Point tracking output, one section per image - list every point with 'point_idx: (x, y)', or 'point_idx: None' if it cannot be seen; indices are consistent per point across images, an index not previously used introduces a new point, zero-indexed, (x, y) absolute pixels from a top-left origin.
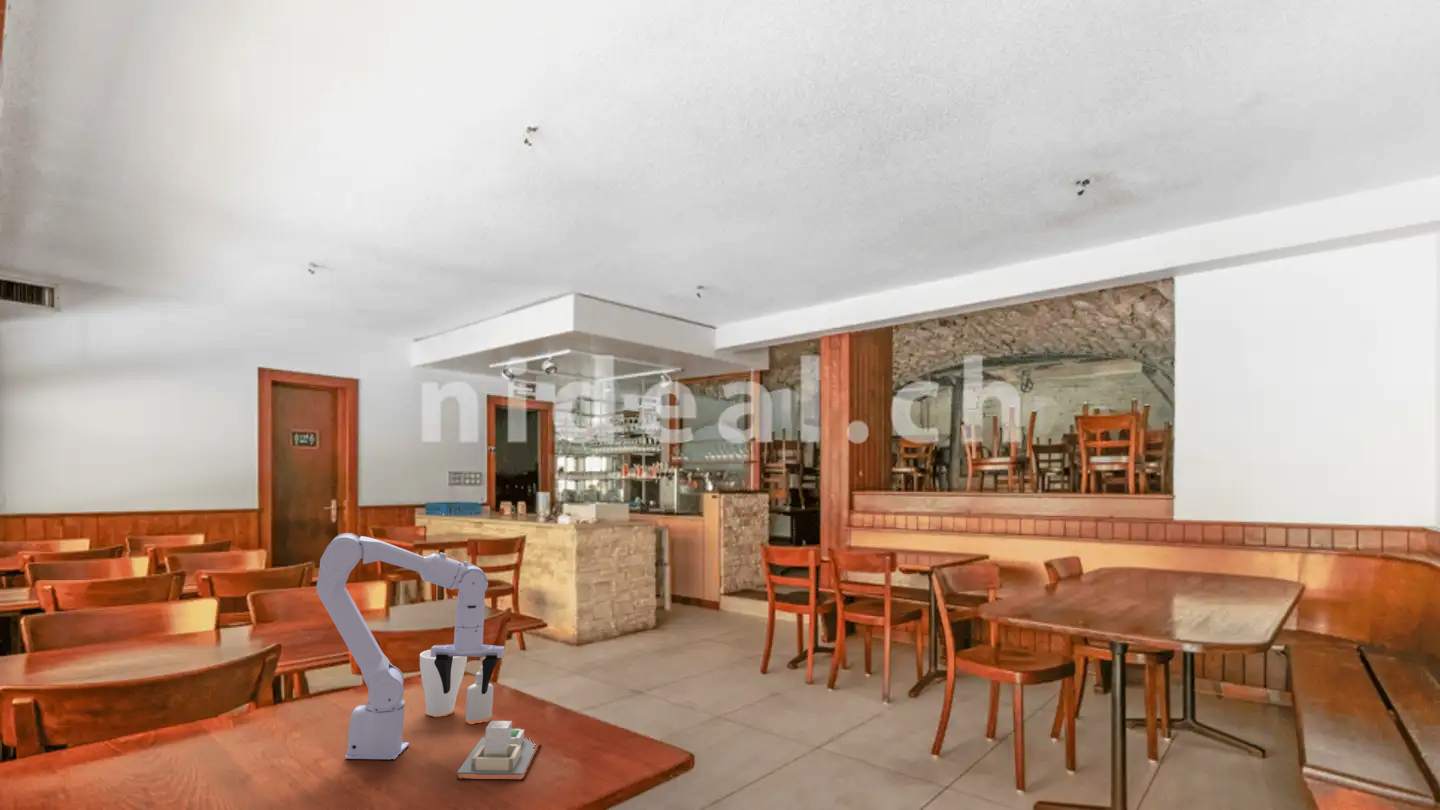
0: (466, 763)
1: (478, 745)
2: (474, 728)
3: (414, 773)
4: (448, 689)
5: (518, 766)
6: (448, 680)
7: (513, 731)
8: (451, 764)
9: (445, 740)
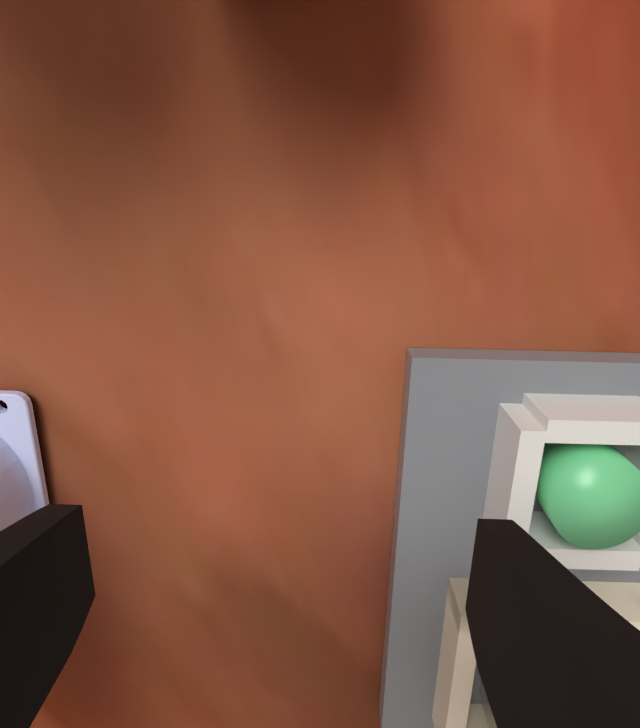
0: (400, 664)
1: (414, 478)
2: (308, 79)
3: (201, 665)
4: (76, 575)
5: None
6: (8, 660)
7: (637, 512)
8: (321, 591)
9: (193, 309)
